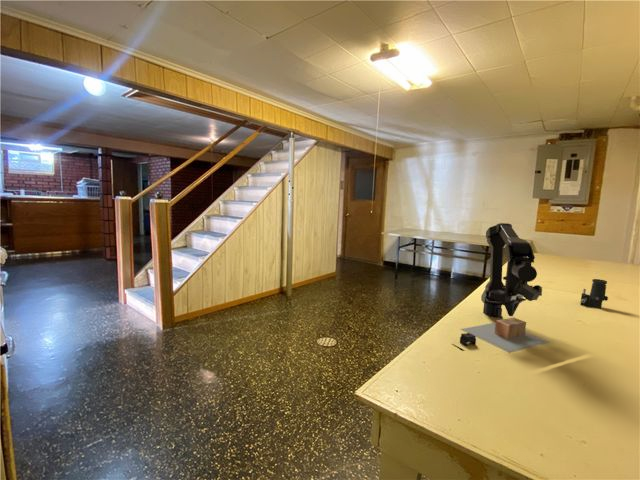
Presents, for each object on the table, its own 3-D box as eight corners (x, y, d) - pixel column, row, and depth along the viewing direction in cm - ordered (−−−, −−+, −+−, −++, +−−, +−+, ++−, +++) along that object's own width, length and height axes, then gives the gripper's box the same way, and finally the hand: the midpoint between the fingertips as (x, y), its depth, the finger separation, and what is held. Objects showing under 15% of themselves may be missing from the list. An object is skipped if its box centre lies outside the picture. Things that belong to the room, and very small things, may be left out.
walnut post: (495, 320, 118) (513, 317, 122) (494, 333, 118) (511, 329, 122) (508, 325, 113) (526, 322, 117) (507, 338, 114) (524, 334, 118)
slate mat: (460, 331, 121) (460, 329, 121) (498, 323, 130) (498, 321, 130) (509, 354, 103) (509, 352, 103) (549, 344, 112) (550, 342, 112)
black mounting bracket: (474, 341, 114) (475, 329, 113) (490, 350, 107) (491, 337, 107) (445, 344, 110) (446, 332, 110) (460, 354, 103) (461, 341, 103)
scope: (584, 276, 162) (610, 280, 155) (580, 302, 164) (606, 307, 157) (583, 279, 156) (610, 283, 149) (579, 306, 157) (606, 311, 151)
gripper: (520, 282, 104) (515, 327, 106) (554, 278, 111) (548, 320, 113) (490, 275, 114) (486, 316, 116) (523, 271, 121) (518, 310, 123)
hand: (510, 315), depth 117 cm, fingers closed
